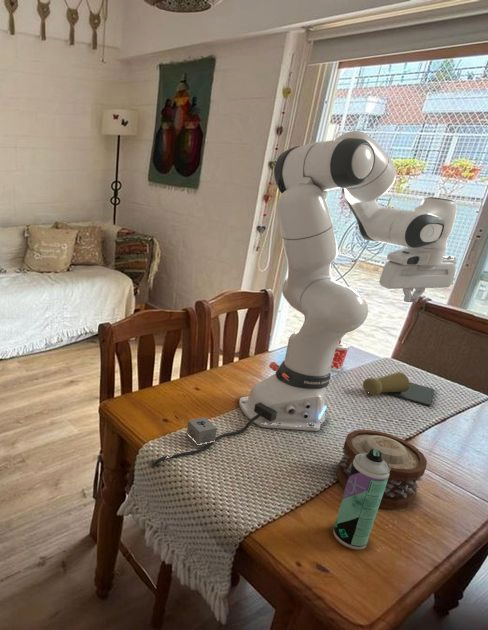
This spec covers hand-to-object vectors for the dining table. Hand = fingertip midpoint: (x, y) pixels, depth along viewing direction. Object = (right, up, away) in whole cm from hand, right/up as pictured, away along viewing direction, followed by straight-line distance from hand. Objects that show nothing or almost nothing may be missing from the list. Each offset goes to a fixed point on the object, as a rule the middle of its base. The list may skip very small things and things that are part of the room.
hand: (410, 301), depth 130 cm
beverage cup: (-12, -22, +18) cm, 31 cm away
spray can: (-48, -47, -46) cm, 81 cm away
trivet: (+2, -27, +4) cm, 28 cm away
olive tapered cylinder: (-1, -24, +2) cm, 24 cm away
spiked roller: (-34, -42, -33) cm, 63 cm away
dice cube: (-68, -36, -18) cm, 79 cm away
